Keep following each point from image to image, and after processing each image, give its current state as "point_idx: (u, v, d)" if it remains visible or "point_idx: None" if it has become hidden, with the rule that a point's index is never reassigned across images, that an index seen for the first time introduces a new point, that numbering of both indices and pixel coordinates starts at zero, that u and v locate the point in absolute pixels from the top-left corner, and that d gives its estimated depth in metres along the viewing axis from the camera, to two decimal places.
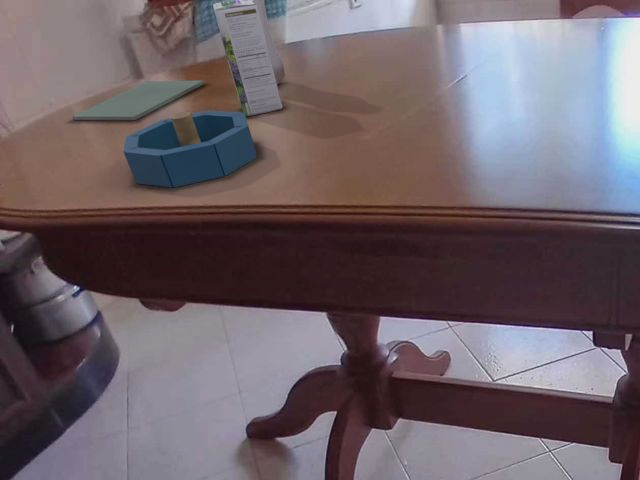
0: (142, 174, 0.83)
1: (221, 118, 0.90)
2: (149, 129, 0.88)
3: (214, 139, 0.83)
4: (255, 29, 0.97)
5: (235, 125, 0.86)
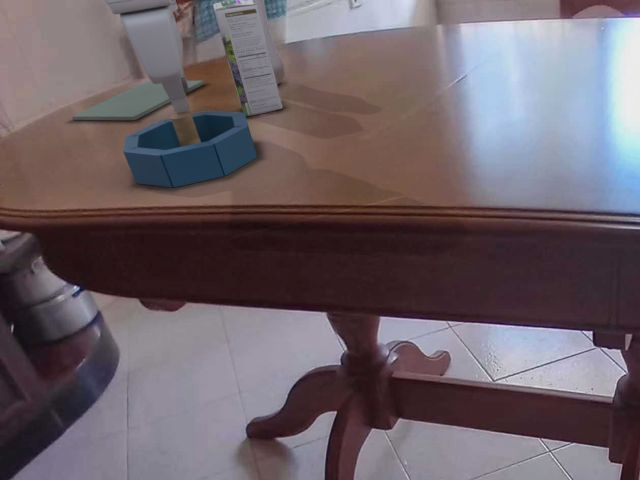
0: (142, 174, 0.83)
1: (221, 118, 0.90)
2: (149, 129, 0.88)
3: (214, 139, 0.83)
4: (255, 29, 0.97)
5: (235, 125, 0.86)
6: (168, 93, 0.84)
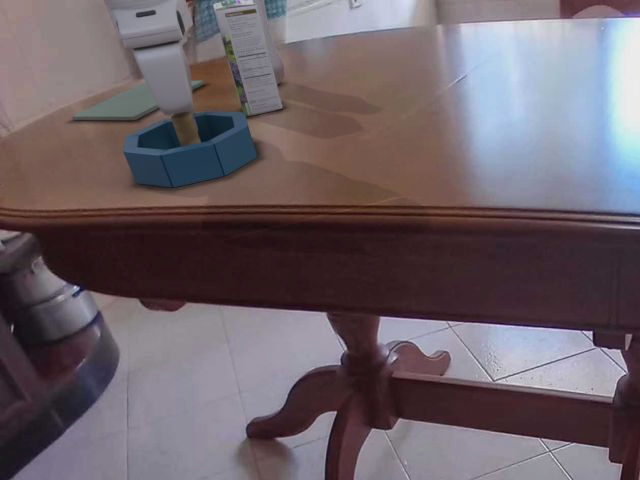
0: (141, 174, 0.83)
1: (221, 118, 0.90)
2: (149, 129, 0.88)
3: (213, 139, 0.83)
4: (255, 29, 0.97)
5: (235, 125, 0.86)
6: None
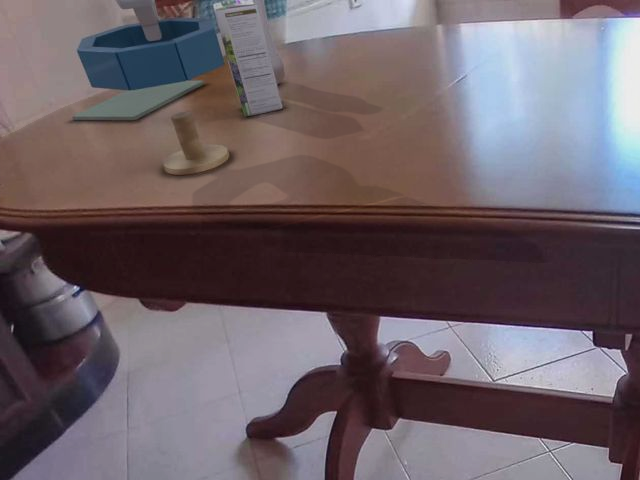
0: (97, 76, 0.77)
1: (187, 24, 0.84)
2: (108, 33, 0.82)
3: (175, 39, 0.76)
4: (255, 29, 0.97)
5: (200, 28, 0.80)
6: (139, 18, 0.82)
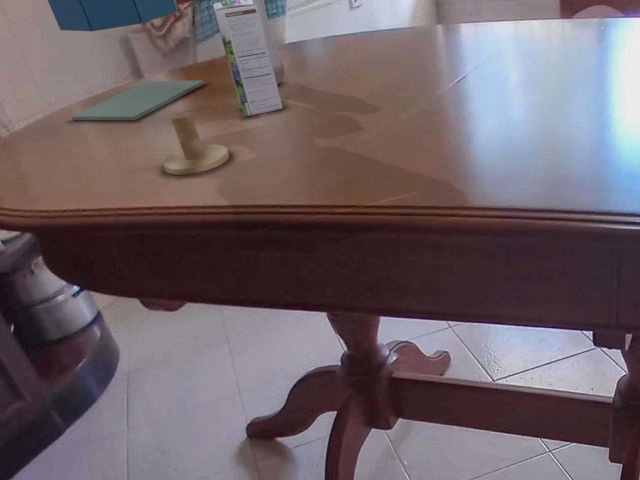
0: (64, 19, 0.89)
1: None
2: None
3: None
4: (255, 29, 0.97)
5: None
6: None
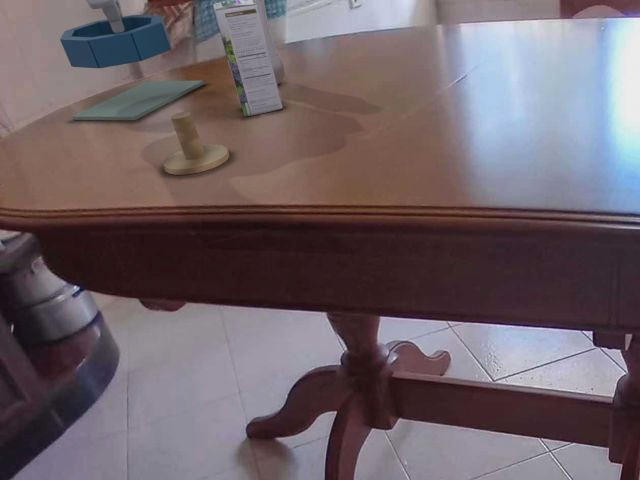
0: (75, 58, 1.05)
1: (143, 19, 1.12)
2: (83, 26, 1.10)
3: (131, 30, 1.04)
4: (255, 29, 0.97)
5: (151, 22, 1.08)
6: (107, 16, 1.10)
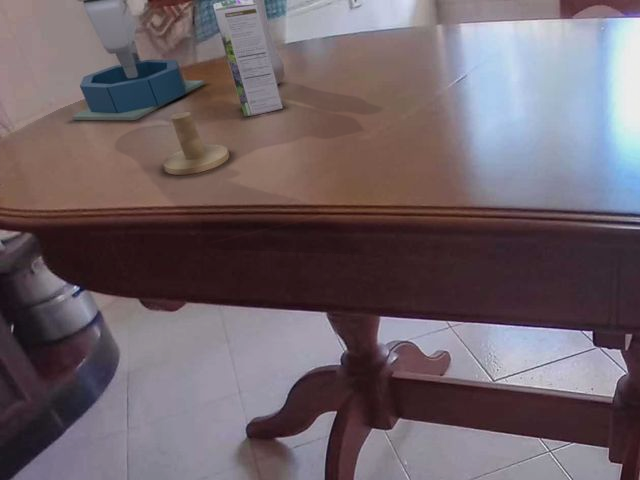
0: (94, 103, 1.09)
1: (159, 64, 1.16)
2: (102, 72, 1.14)
3: (149, 76, 1.08)
4: (255, 29, 0.97)
5: (167, 68, 1.12)
6: (121, 62, 1.11)
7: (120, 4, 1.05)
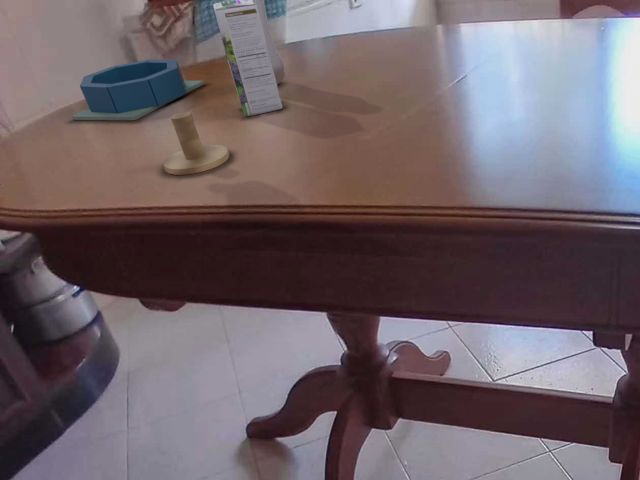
0: (94, 103, 1.09)
1: (159, 64, 1.16)
2: (102, 72, 1.14)
3: (149, 76, 1.08)
4: (255, 29, 0.97)
5: (167, 68, 1.12)
6: None
7: None
